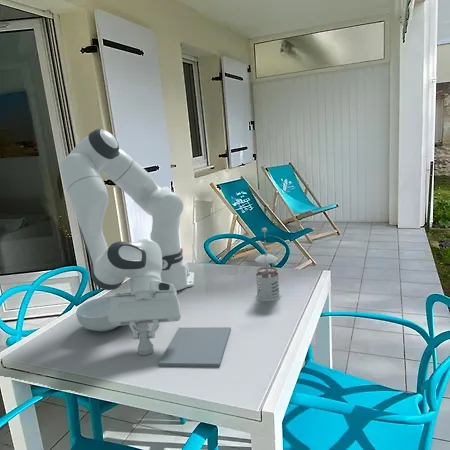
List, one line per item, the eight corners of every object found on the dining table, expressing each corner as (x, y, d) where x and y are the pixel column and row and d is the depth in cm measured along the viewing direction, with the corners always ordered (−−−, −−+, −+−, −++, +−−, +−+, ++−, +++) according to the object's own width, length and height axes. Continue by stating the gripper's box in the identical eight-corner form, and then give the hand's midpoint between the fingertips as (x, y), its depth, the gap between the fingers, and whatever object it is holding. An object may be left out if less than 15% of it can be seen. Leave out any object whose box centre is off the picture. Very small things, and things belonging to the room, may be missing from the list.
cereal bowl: (82, 343, 120) (78, 321, 119) (76, 323, 135) (73, 303, 134) (138, 329, 127) (136, 307, 126) (127, 310, 142) (125, 291, 141)
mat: (179, 329, 124) (179, 327, 124) (230, 329, 121) (230, 327, 121) (158, 365, 105) (158, 362, 105) (219, 366, 102) (219, 363, 102)
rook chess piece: (147, 346, 116) (144, 320, 114) (157, 350, 113) (154, 324, 111) (134, 352, 113) (131, 325, 111) (144, 357, 109) (140, 330, 108)
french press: (252, 300, 142) (247, 231, 137) (258, 288, 153) (254, 223, 148) (280, 302, 139) (276, 230, 134) (285, 289, 150) (281, 223, 145)
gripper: (107, 289, 116) (102, 337, 109) (178, 284, 116) (178, 331, 108) (113, 298, 121) (109, 344, 114) (182, 293, 121) (182, 339, 114)
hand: (143, 338), depth 111 cm, fingers closed on rook chess piece, 3 cm apart
